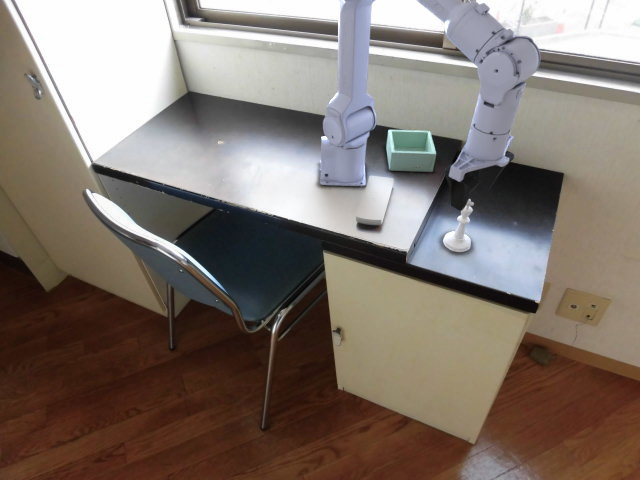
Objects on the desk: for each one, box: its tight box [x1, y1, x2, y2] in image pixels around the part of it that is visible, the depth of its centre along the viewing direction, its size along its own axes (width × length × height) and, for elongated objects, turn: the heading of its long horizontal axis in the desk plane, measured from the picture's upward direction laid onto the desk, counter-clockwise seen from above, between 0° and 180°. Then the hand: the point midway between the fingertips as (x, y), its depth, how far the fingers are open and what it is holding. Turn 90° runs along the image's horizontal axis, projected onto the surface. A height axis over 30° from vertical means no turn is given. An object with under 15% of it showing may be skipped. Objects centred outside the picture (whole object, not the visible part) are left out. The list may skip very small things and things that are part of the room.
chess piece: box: [442, 198, 475, 253], centre depth 83 cm, size 5×5×10 cm
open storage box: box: [385, 129, 437, 173], centre depth 105 cm, size 9×9×5 cm
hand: (470, 197), depth 79 cm, fingers open, 7 cm apart
